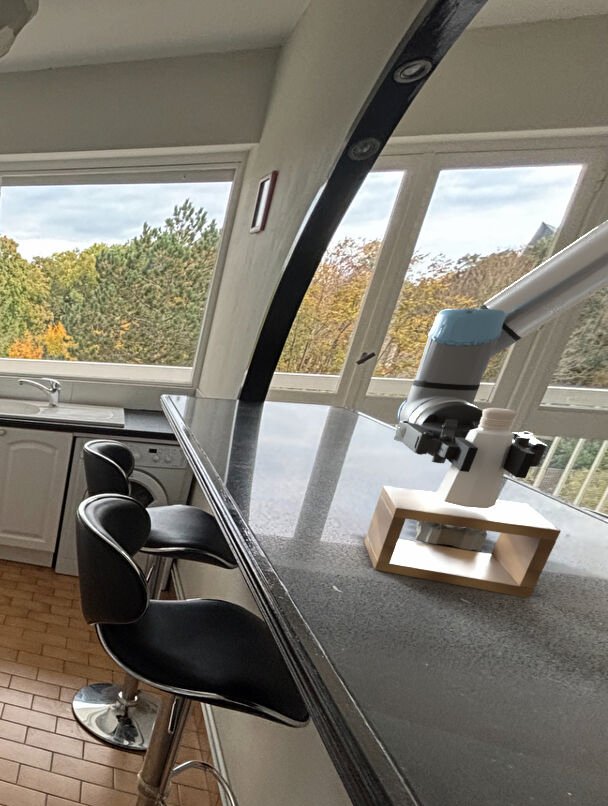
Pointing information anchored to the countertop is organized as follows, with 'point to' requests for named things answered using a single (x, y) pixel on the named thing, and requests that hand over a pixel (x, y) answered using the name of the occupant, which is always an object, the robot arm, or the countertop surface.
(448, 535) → the grey bumpy bar
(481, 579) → the frame
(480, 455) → the pepper shaker
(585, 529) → the countertop surface
